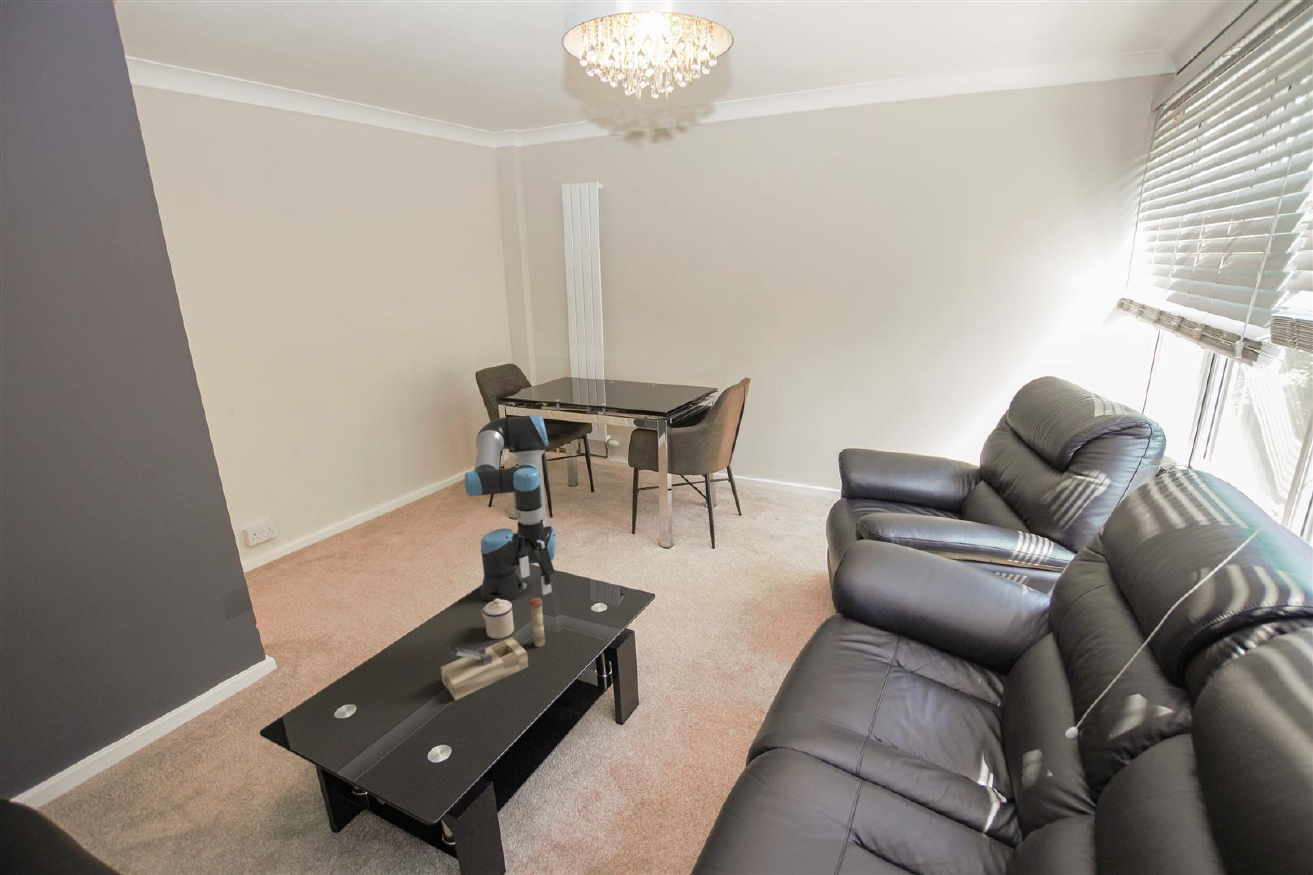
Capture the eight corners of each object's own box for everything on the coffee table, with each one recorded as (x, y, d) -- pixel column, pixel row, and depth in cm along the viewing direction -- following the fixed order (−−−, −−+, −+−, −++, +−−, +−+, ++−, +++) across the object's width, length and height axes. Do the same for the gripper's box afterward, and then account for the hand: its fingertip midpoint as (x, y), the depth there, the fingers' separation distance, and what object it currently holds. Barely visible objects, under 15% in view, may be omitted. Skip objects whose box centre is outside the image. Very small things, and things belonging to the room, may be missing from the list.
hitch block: (442, 682, 168) (439, 660, 166) (513, 651, 181) (511, 630, 179) (455, 700, 160) (452, 677, 158) (528, 666, 173) (526, 645, 171)
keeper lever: (447, 649, 163) (448, 645, 163) (482, 655, 170) (483, 652, 170) (451, 654, 160) (452, 650, 161) (486, 660, 168) (488, 657, 168)
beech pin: (530, 643, 184) (526, 600, 181) (542, 638, 187) (538, 596, 183) (536, 649, 181) (532, 606, 178) (548, 644, 184) (544, 601, 180)
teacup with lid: (520, 627, 193) (517, 596, 190) (500, 642, 185) (497, 610, 182) (493, 618, 199) (490, 587, 196) (473, 632, 191) (469, 600, 188)
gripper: (499, 511, 180) (506, 573, 186) (539, 537, 162) (545, 605, 167) (521, 505, 185) (527, 566, 191) (563, 529, 166) (567, 595, 172)
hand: (535, 584), depth 179 cm, fingers open, 13 cm apart
